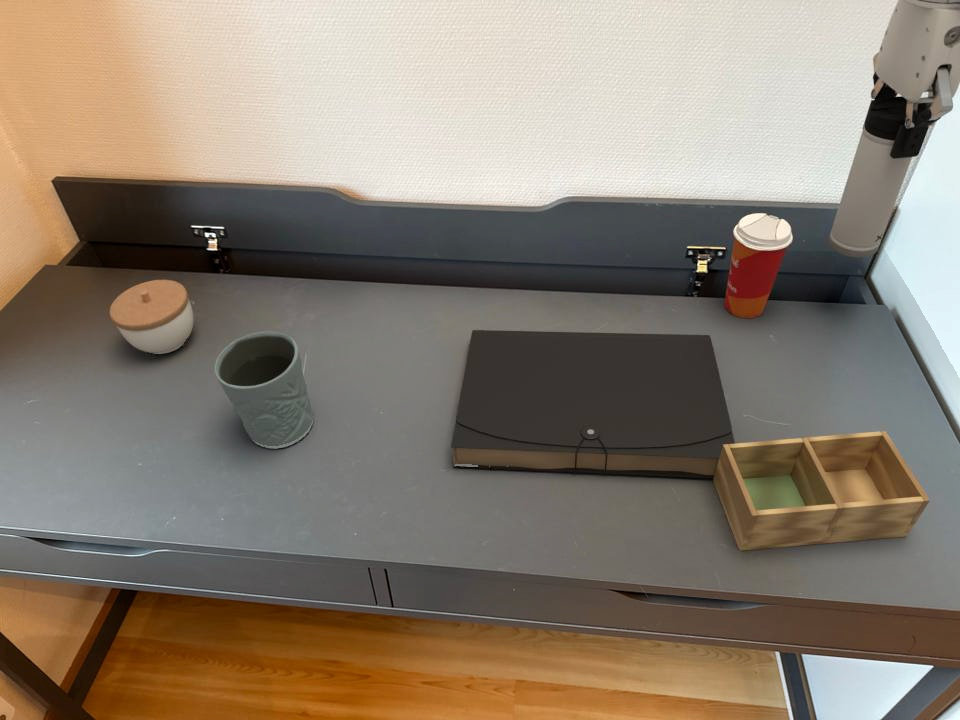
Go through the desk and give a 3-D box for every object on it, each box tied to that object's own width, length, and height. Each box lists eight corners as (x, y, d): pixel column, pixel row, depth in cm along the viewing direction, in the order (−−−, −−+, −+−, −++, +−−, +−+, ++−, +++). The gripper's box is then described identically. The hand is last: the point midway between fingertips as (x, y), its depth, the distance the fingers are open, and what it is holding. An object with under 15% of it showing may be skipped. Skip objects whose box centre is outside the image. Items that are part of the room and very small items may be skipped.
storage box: (866, 467, 83) (885, 430, 78) (906, 536, 76) (930, 500, 71) (712, 480, 82) (722, 444, 78) (739, 551, 76) (752, 515, 71)
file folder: (450, 446, 83) (473, 322, 101) (453, 469, 86) (474, 344, 104) (739, 458, 79) (709, 327, 97) (733, 481, 82) (704, 350, 100)
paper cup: (731, 284, 109) (749, 205, 100) (779, 302, 105) (803, 222, 96) (707, 310, 105) (725, 230, 95) (757, 330, 101) (780, 249, 92)
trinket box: (166, 312, 112) (144, 263, 105) (218, 328, 108) (198, 279, 102) (114, 354, 105) (87, 305, 99) (168, 373, 101) (143, 324, 95)
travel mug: (887, 257, 94) (944, 112, 80) (836, 259, 94) (884, 115, 81) (869, 231, 99) (920, 90, 85) (821, 234, 99) (864, 93, 85)
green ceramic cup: (276, 466, 88) (249, 400, 79) (226, 431, 92) (195, 365, 84) (335, 416, 93) (315, 349, 85) (284, 386, 98) (261, 320, 90)
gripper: (1031, 4, 68) (958, 174, 80) (935, -41, 81) (885, 111, 93) (953, 12, 68) (892, 180, 80) (870, -35, 81) (828, 116, 93)
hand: (889, 142), depth 86 cm, fingers closed on travel mug, 6 cm apart
